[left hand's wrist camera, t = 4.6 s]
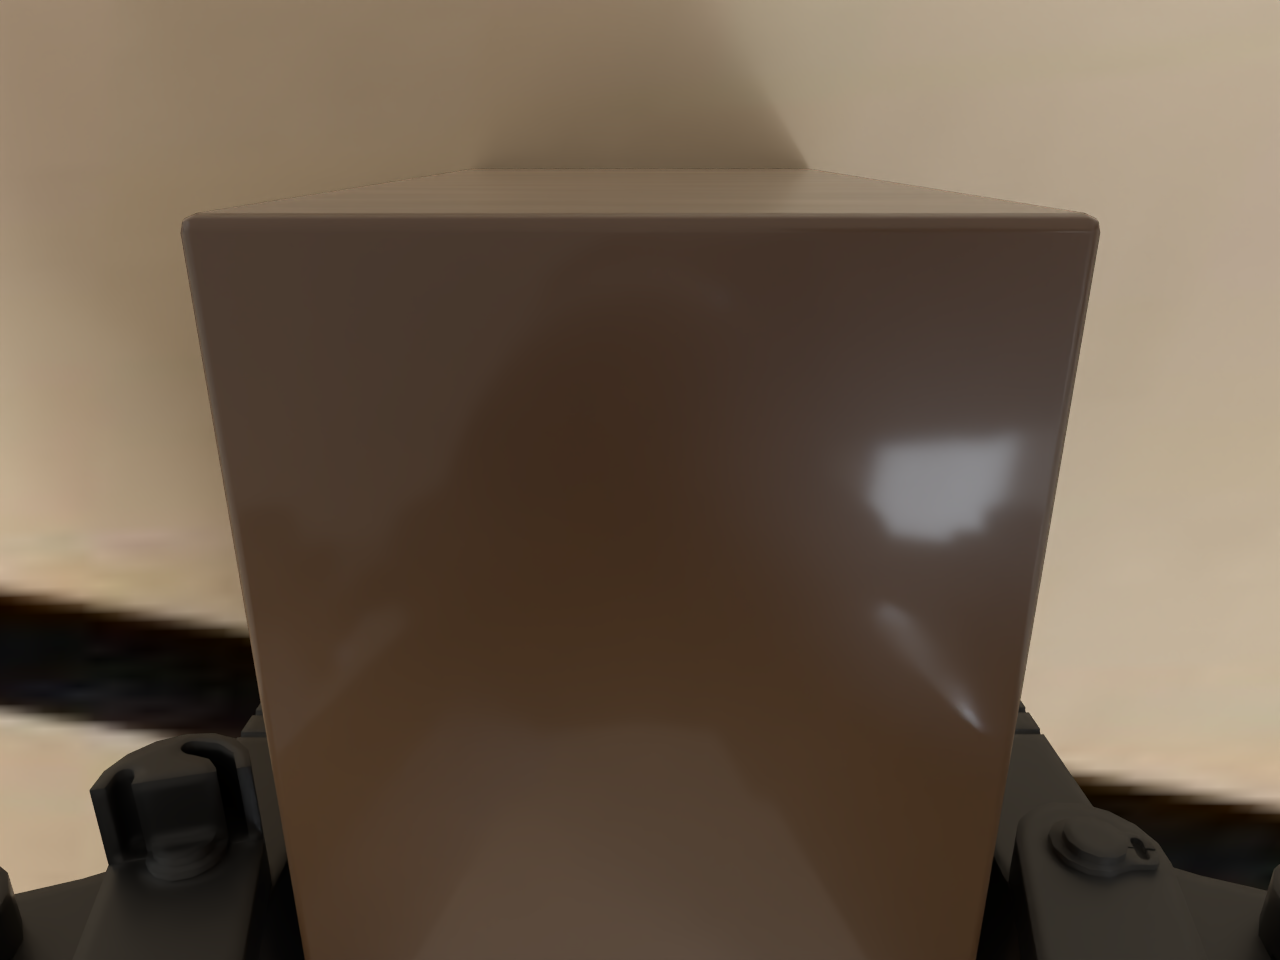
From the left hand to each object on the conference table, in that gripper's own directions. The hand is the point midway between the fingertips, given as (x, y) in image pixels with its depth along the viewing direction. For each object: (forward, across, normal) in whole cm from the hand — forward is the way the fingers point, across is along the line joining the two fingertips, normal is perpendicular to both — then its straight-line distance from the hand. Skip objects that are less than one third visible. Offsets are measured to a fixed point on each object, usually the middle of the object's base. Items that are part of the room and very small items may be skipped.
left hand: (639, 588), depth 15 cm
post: (+1, 0, -31) cm, 31 cm away
